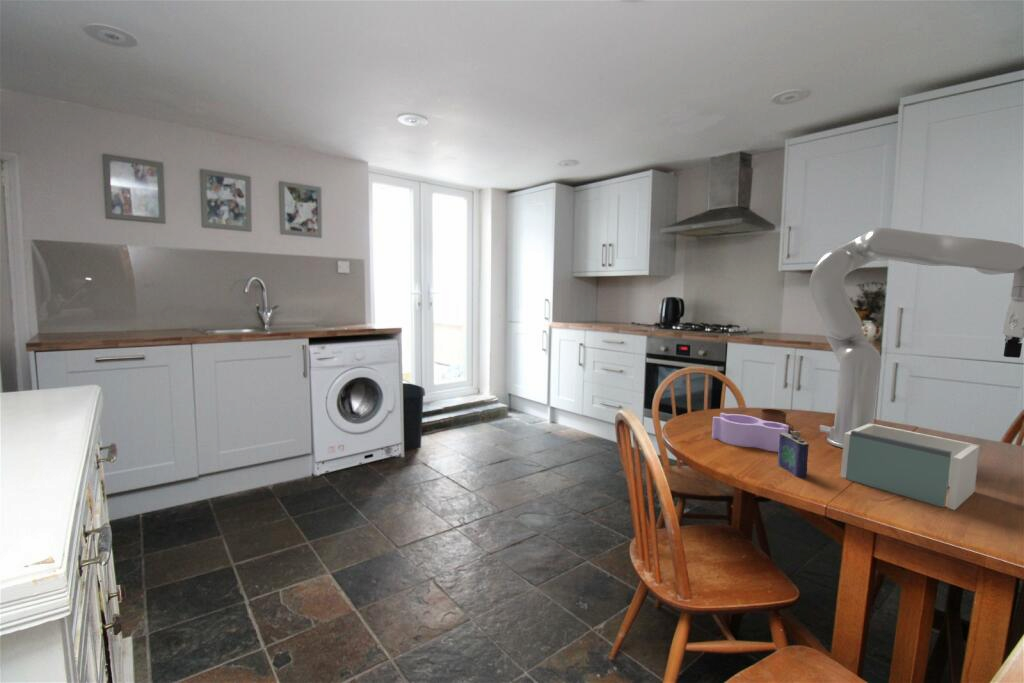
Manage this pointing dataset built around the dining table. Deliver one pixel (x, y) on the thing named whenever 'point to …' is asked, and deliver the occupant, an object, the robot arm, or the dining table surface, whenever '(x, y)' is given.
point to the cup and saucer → (775, 417)
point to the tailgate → (899, 467)
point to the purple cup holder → (748, 431)
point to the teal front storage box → (962, 452)
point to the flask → (793, 454)
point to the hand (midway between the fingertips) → (1022, 359)
